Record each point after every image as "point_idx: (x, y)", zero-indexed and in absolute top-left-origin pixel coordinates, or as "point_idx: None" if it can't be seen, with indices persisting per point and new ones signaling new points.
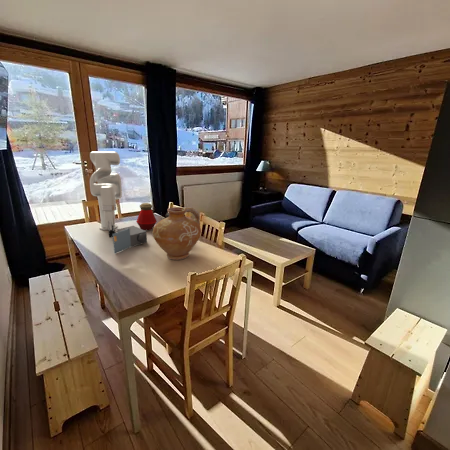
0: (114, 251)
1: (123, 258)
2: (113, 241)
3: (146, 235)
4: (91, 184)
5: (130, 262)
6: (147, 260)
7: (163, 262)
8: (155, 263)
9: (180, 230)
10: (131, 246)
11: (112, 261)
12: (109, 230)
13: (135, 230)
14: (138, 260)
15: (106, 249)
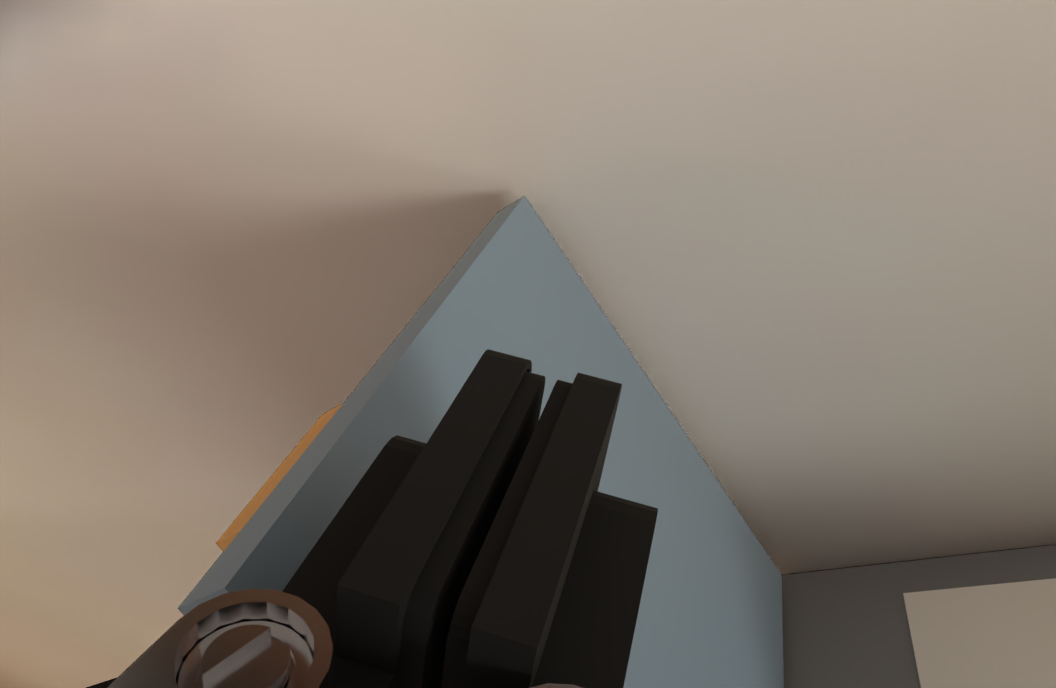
0: (500, 220)
1: (247, 305)
2: (386, 369)
3: None
4: None
5: (66, 364)
6: (105, 574)
7: (27, 682)
8: (6, 611)
9: None
10: (785, 594)
11: (149, 79)
12: (145, 682)
13: None
14: (123, 482)
15: (998, 34)
